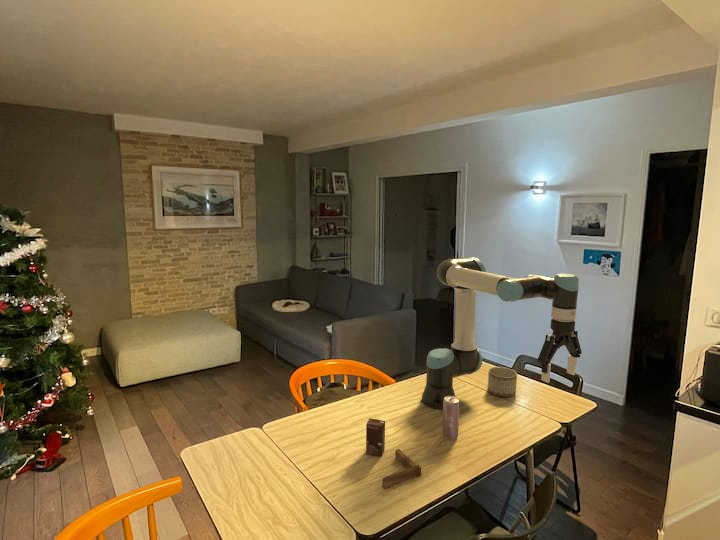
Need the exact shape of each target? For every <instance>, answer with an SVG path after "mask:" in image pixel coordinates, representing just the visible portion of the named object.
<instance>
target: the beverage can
mask: <svg viewBox="0 0 720 540" xmlns="http://www.w3.org/2000/svg"><path fill="white" fill-rule="evenodd" d="M459 420H460V398H458V397H454V396H446V397H445V398H444V401H443V409H442V426H441V427H442V428H441V429H442V430H441V433H442V436H443V437H444V438H445V439H447V440H456V439H457V438H458V436H459V422H460V421H459Z"/></svg>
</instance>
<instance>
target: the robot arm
mask: <svg viewBox="0 0 720 540" xmlns="http://www.w3.org/2000/svg"><path fill="white" fill-rule="evenodd" d="M436 277H437V279H438V280H439V282H440V284H442V285H444V286H448V287H452V288H453V289H454V290H455V317H454V319H455V320H454V321H455V322H454V323H455V327H454V341H453V343H451V344H450V346H451V347H450V349H449V348H434V349H432V350H430V351H429V352H428V353H427V357H426V363H425V364H426V381H425V387H424V390H423V392H422V394H421V402H422V404H424V405H425V406H426V407H428V408H430V409H435V410H443V401H444V398H445V397H446V396H454V397H456V394H455V390H454V387H453V386H454V385H453V380H454V379H455V378H459V377H462V376H465V375H473V373H474V374H475V373H476V372H478V371H479V370H480V369H481V367H482V366H483V365H482V364H483V355H482V354H481V351H480V350H479V349H478V345H477V344H476V343H475V325H476V323H475V321H476V299H477V298H476V297H477V293H476V292H481V293H485V294H489V295H493V296H496V297H498V298H499V299H500V300H502V301H503V302H516V301H521V300H522V301H523V300H529V299H534V298H535V299H537V298H542V299H547V300H551V301H552V303H551V304H552V306H551V311H550V313H551V314H550V315H551V317H552V318H551V319H550V329H551V330H552V334H548V333H547V334H546V335H545V339H544V342H543V345H542V347H541V350H540V352H539V355H538V358H537V362H539V363H541V369H540V371H541V378H540V379H541V380H540V381H543V382H545V383H548V384H549V383H550V380H551V378H550V377H551V369H552V368H551V366H552V364H551V363H550V362H551V361H552V359H553V358H554V356H555V354H556V353H557V351H558V350H559V349H560V348H561V347H564V346H565V347H566V350H567V352H568V353H569V355H567V365H566V374H569V375H572V376H575V375H576V366H577V358H578V359H579V358H581V355H582V353H583V352H582V348H581V344H580V341H579V336H578V335H579V333H578V330H575V329H576V321H575V320H576V318H577V317H576V316H577V308H578V307H577V304H578V296H579V290H580V288H579V280H580V279H579V277H578V276H577V275H575V274H571V273H557V274H555V275H554V277H549V276H548V277H547V276H543V275H539V274H528V275H526V276H524V277H520V278H519V277H518V278H514V277H509V276H505V275H499V274H496V273H490V272H487V271H486V267H485V265H484V263H483V262H482V261H481V260H480V259H479V258H477V257H471V256H468V257H467V256H466V257H458V258H457V257H456V258H447V259H446V260H443V261H442V262H441V263H440V264H439V265H438V267H437V270H436Z"/></svg>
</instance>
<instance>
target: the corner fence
mask: <svg viewBox="0 0 720 540" xmlns="http://www.w3.org/2000/svg"><path fill="white" fill-rule="evenodd" d="M394 455H395V459H396V460H397V461H398V462H399V463H400V464H401V465H402V466H403V467H404V468H405V469H403V470H401V471H398V472H395V473H392V474H389V475H387V476H384V477H382V479H381V480H382V481H381V482H382V483H381V486H382V488H383V489H384V490H387V489H389V488H392V487H395V486H397V485H400V484H402V483H406V482H408V481H411V480H414V479H416V478H417V477H421V476H422V466H421V465H420V464H416V463H415V462H414V461H413V460H411V458H410V457H408V455H406V454H405V453H404V452H403V451H402V450H401V449H400V448H397V449H395V454H394Z"/></svg>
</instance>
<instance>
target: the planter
mask: <svg viewBox="0 0 720 540" xmlns="http://www.w3.org/2000/svg"><path fill="white" fill-rule="evenodd" d="M487 378H488V379H487V391H488V392H489V393H490V394H491V395H494V396H497V397H504V398H510V397H513V396H515V395H516V393H517V381H518V379H517V378H518V373H517V372H516V370H514V369H511V368H510V367H509V368H508V367H503V366H493V367H490V368H489V369H488V374H487Z"/></svg>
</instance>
